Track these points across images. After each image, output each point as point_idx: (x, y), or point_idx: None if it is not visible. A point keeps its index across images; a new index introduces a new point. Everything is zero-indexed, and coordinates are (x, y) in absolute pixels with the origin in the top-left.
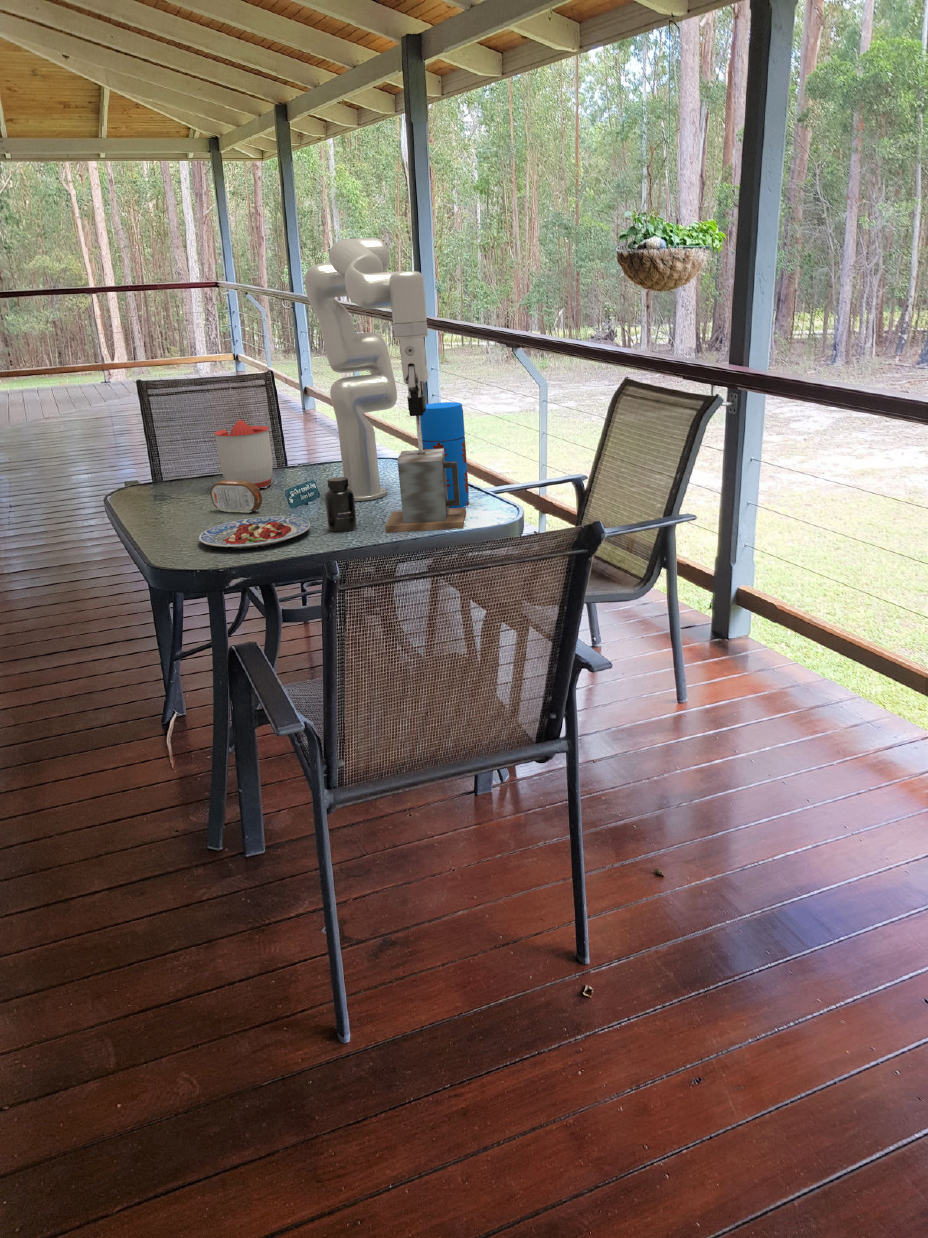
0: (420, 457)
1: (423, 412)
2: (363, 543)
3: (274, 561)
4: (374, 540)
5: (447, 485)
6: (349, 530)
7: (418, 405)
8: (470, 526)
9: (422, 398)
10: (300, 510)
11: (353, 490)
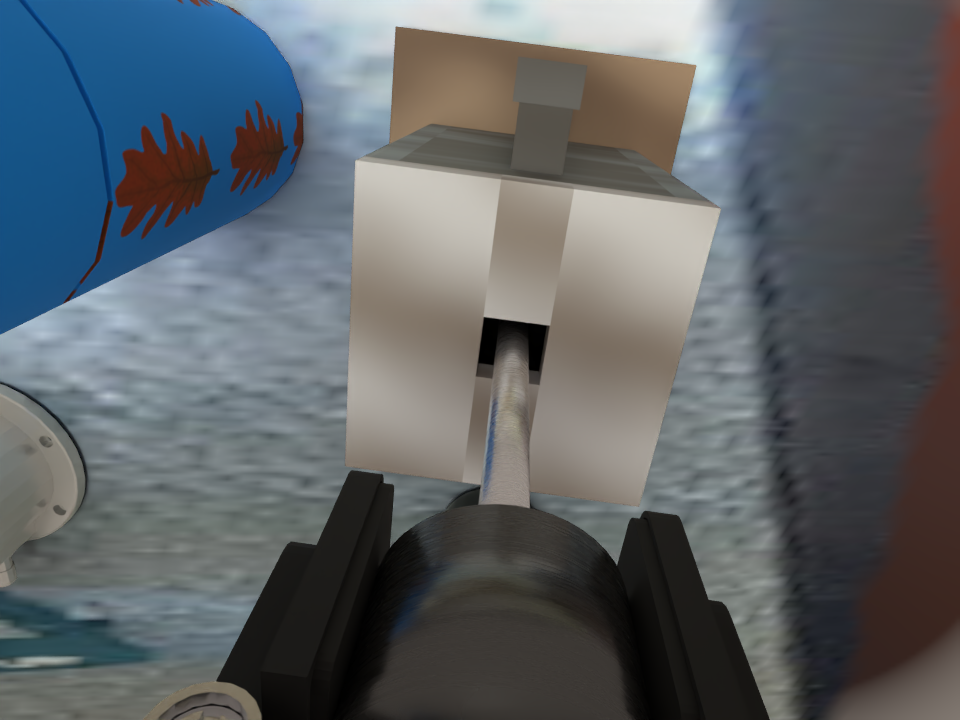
0: (673, 364)
1: (678, 529)
2: (729, 468)
3: (804, 686)
4: (706, 433)
5: (261, 119)
6: (532, 508)
7: (750, 675)
8: (666, 25)
9: (620, 692)
10: (188, 637)
11: (35, 511)
